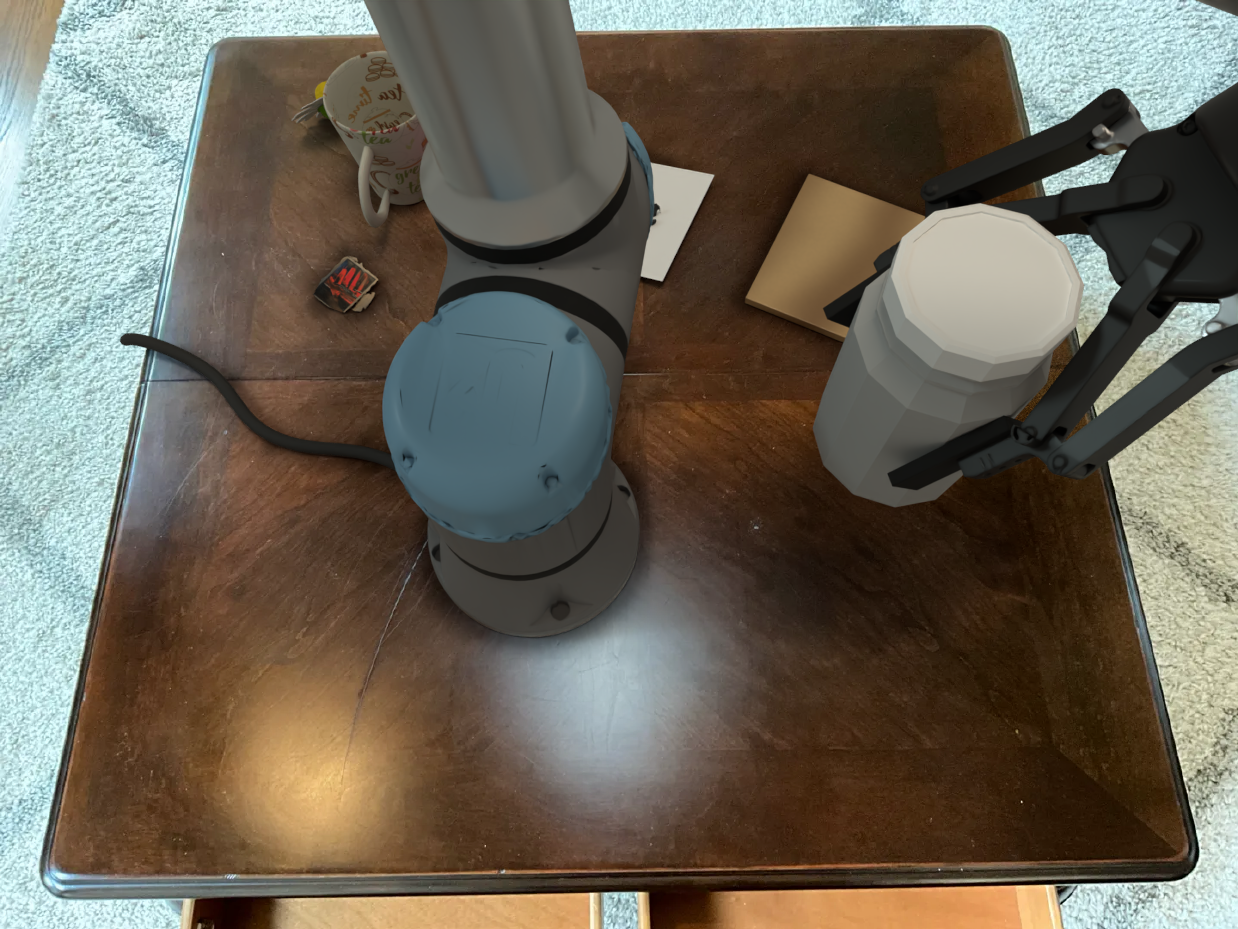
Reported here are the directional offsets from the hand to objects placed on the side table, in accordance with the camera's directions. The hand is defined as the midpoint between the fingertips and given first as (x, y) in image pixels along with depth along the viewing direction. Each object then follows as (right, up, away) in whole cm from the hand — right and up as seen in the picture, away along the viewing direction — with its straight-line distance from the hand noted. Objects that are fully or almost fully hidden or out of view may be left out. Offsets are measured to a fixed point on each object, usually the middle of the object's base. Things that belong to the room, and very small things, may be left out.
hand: (868, 397), depth 48 cm
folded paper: (-13, +18, +28) cm, 36 cm away
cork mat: (+6, +13, +25) cm, 29 cm away
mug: (-33, +19, +29) cm, 48 cm away
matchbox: (-36, +11, +25) cm, 45 cm away
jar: (+3, -2, +8) cm, 9 cm away
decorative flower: (-35, +26, +29) cm, 52 cm away
